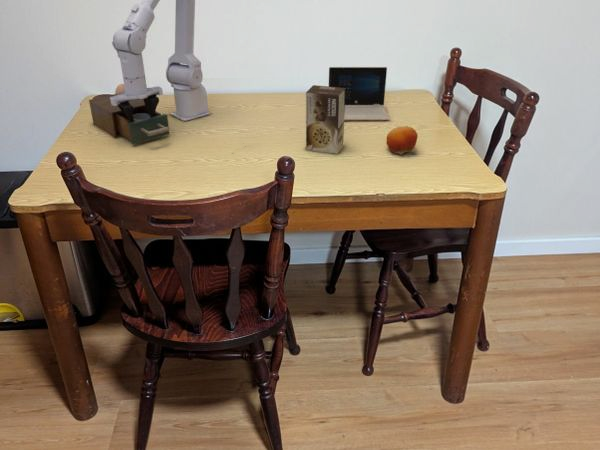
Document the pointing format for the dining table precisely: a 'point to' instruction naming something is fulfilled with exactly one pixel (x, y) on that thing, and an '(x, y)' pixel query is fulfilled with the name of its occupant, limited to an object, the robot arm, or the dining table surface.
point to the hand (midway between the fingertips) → (141, 124)
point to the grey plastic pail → (140, 116)
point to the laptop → (361, 91)
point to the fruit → (402, 139)
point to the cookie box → (325, 118)
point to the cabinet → (109, 113)
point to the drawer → (142, 126)
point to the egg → (120, 89)
